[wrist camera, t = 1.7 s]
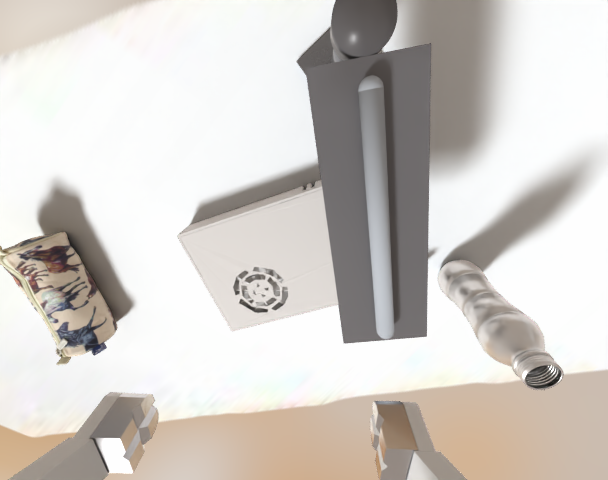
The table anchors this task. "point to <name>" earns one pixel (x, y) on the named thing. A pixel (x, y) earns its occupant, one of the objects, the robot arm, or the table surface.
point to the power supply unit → (266, 258)
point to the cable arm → (375, 171)
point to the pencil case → (61, 293)
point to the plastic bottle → (500, 325)
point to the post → (319, 54)
